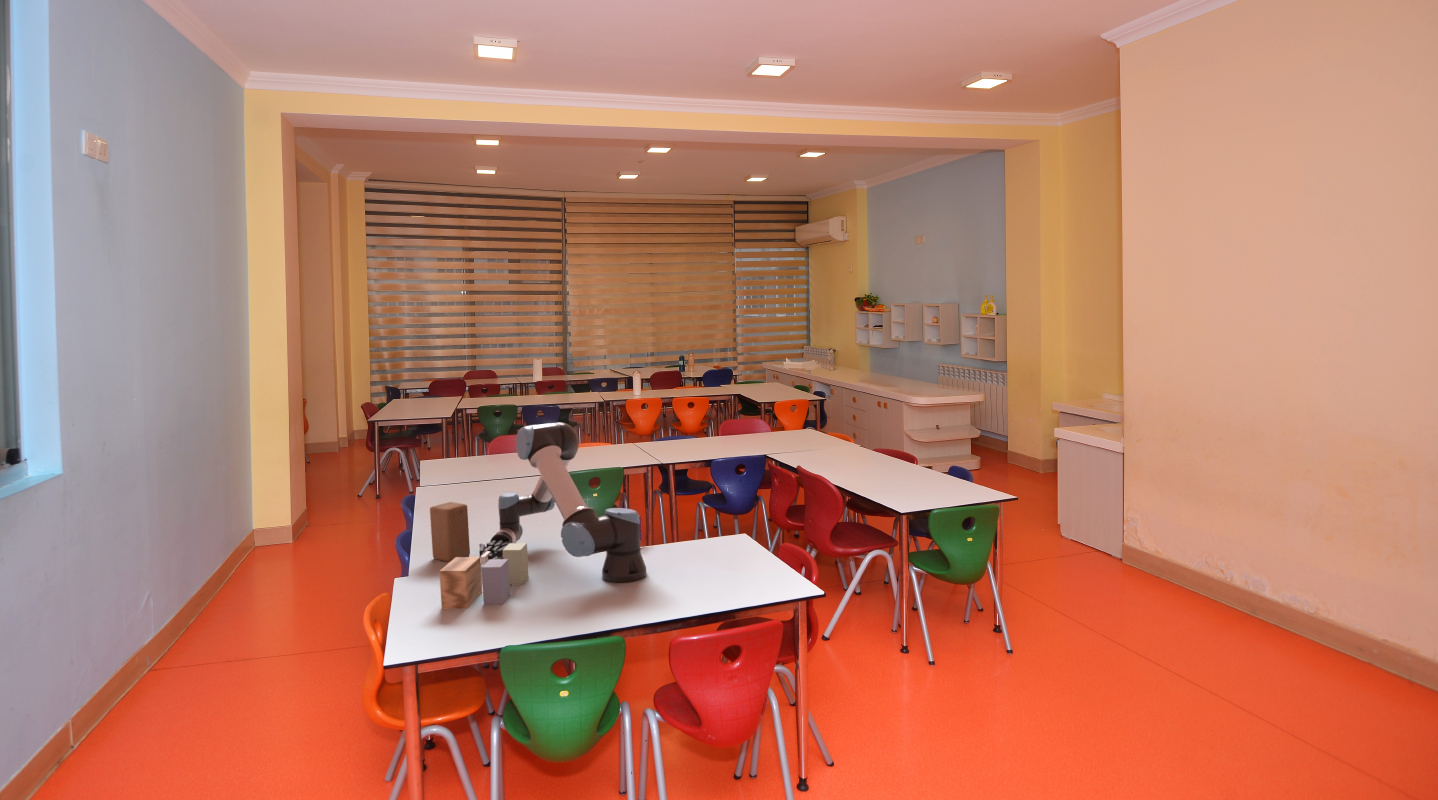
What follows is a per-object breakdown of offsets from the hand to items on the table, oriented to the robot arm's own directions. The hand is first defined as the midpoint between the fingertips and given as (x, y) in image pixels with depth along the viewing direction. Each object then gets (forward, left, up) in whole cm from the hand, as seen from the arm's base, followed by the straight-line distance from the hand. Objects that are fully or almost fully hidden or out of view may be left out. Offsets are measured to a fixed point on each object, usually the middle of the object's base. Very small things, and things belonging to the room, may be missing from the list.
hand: (482, 560), depth 269 cm
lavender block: (-15, +19, -6) cm, 25 cm away
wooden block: (+24, -21, -6) cm, 32 cm away
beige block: (-13, +1, -6) cm, 14 cm away
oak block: (-4, +21, -6) cm, 22 cm away
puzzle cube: (-36, -47, -6) cm, 59 cm away
